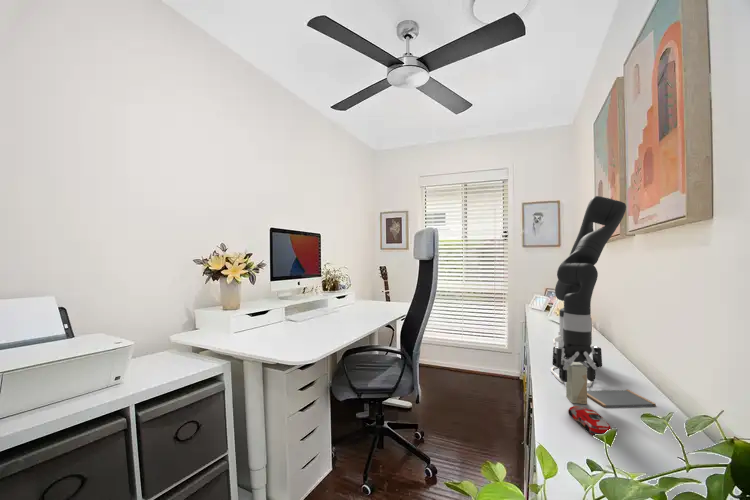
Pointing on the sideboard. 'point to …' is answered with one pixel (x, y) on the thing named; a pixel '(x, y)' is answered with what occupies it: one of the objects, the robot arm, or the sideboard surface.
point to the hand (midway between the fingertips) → (577, 380)
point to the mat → (618, 398)
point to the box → (577, 383)
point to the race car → (589, 420)
